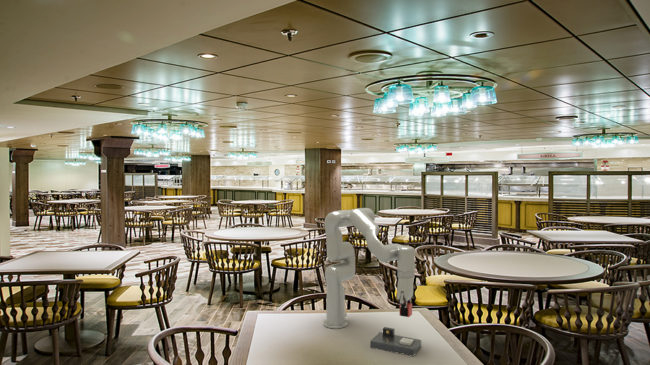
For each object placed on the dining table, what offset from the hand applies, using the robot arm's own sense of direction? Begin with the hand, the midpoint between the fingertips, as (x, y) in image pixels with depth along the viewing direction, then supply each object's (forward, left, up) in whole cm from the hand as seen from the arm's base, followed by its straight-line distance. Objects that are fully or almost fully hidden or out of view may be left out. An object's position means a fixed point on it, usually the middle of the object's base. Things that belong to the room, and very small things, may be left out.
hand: (405, 314), depth 191 cm
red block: (0, 0, 0) cm, 0 cm away
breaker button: (0, 0, -15) cm, 15 cm away
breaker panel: (0, -5, -16) cm, 16 cm away
